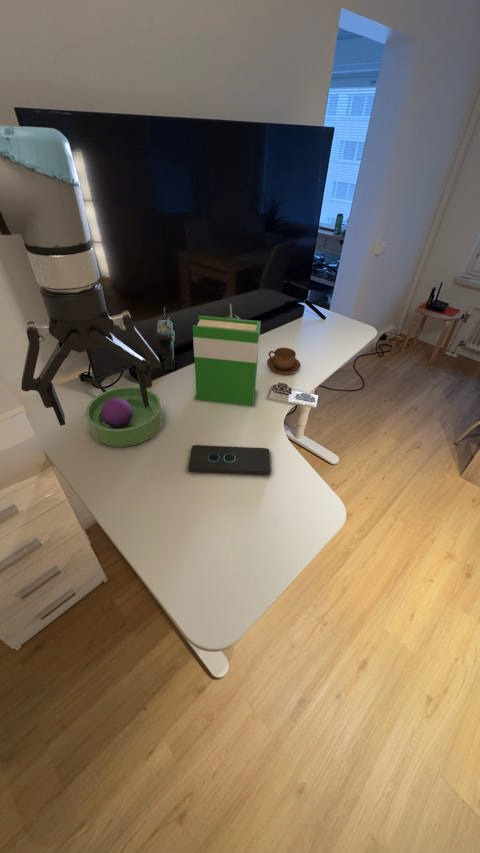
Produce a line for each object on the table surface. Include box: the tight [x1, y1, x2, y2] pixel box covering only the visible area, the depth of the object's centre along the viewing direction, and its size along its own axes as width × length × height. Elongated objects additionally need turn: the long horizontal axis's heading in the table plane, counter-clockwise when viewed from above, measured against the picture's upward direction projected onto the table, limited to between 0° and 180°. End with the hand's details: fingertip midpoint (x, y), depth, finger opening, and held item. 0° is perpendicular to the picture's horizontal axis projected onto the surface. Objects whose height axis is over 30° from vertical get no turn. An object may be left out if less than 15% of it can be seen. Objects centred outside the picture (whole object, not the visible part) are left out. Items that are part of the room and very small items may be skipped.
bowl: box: [85, 386, 165, 448], centre depth 95 cm, size 20×20×6 cm
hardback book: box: [192, 315, 262, 407], centre depth 101 cm, size 18×7×24 cm, turn 83°
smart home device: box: [188, 444, 271, 476], centre depth 87 cm, size 8×2×20 cm
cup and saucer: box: [266, 347, 302, 375], centre depth 121 cm, size 12×12×6 cm
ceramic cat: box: [156, 306, 175, 371], centre depth 118 cm, size 20×6×20 cm, turn 3°
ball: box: [101, 398, 133, 427], centre depth 93 cm, size 8×8×8 cm
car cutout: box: [268, 382, 319, 409], centre depth 108 cm, size 15×7×4 cm, turn 74°
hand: (105, 411), depth 58 cm, fingers open, 13 cm apart
